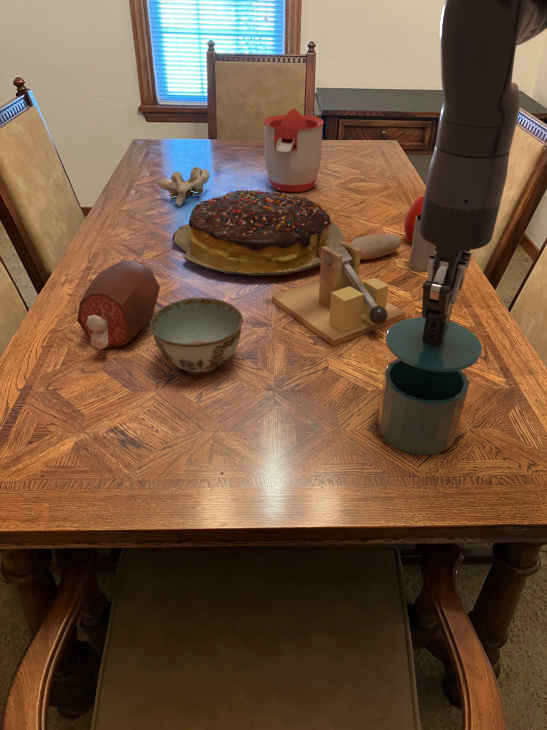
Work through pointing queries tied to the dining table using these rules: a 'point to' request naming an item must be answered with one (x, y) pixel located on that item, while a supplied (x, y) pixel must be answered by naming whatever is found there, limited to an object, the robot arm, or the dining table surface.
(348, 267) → the ball tipped lever
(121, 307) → the meat
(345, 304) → the pale yellow oblong block
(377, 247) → the stone
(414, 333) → the crock lid
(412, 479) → the dining table surface
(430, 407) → the crock
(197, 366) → the bowl
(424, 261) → the gray cylinder
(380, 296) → the yellow rectangular block
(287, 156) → the citrus juicer
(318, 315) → the wooden lever switch base
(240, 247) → the cake
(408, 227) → the red egg
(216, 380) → the dining table surface
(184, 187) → the tan ginger root
